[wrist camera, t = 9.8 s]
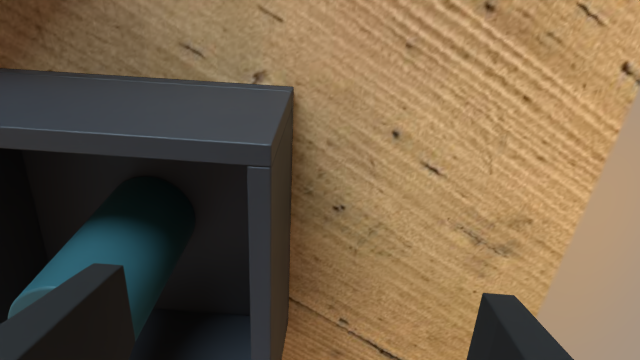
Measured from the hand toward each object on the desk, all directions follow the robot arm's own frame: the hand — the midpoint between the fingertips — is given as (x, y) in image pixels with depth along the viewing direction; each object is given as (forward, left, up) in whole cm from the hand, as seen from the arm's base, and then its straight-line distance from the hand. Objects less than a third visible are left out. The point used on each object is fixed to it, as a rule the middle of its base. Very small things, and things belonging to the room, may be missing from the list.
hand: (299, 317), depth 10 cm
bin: (-4, +7, -10) cm, 13 cm away
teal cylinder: (-4, +7, -10) cm, 13 cm away
